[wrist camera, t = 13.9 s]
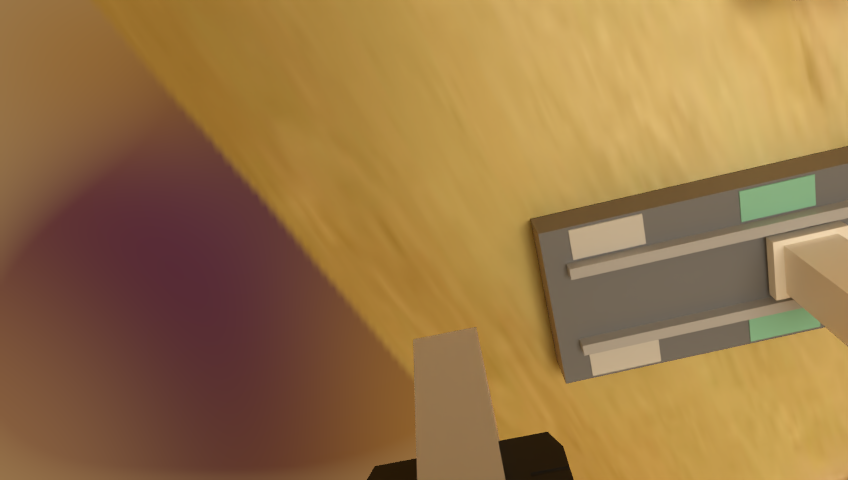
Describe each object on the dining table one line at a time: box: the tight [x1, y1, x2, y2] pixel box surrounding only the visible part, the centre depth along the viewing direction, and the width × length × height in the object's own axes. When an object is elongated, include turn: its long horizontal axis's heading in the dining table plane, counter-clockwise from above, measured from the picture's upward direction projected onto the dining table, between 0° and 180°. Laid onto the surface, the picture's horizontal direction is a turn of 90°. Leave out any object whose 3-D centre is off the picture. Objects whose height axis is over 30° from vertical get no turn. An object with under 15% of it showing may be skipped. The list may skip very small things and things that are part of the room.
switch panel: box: [531, 146, 848, 383], centre depth 52 cm, size 12×24×4 cm, turn 103°
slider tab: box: [766, 221, 848, 346], centre depth 46 cm, size 4×5×10 cm
